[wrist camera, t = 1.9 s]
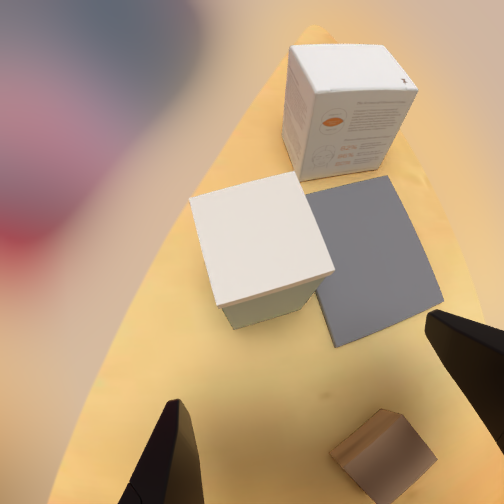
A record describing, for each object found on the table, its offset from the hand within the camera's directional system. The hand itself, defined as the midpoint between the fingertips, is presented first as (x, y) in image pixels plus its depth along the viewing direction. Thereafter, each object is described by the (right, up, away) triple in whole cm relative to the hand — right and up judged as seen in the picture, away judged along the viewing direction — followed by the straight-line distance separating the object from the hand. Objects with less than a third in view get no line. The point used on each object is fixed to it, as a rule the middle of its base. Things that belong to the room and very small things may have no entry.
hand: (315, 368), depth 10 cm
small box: (+5, +13, +18) cm, 23 cm away
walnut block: (+7, -11, +9) cm, 16 cm away
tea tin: (-2, +1, +14) cm, 14 cm away
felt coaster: (+7, +4, +15) cm, 17 cm away
